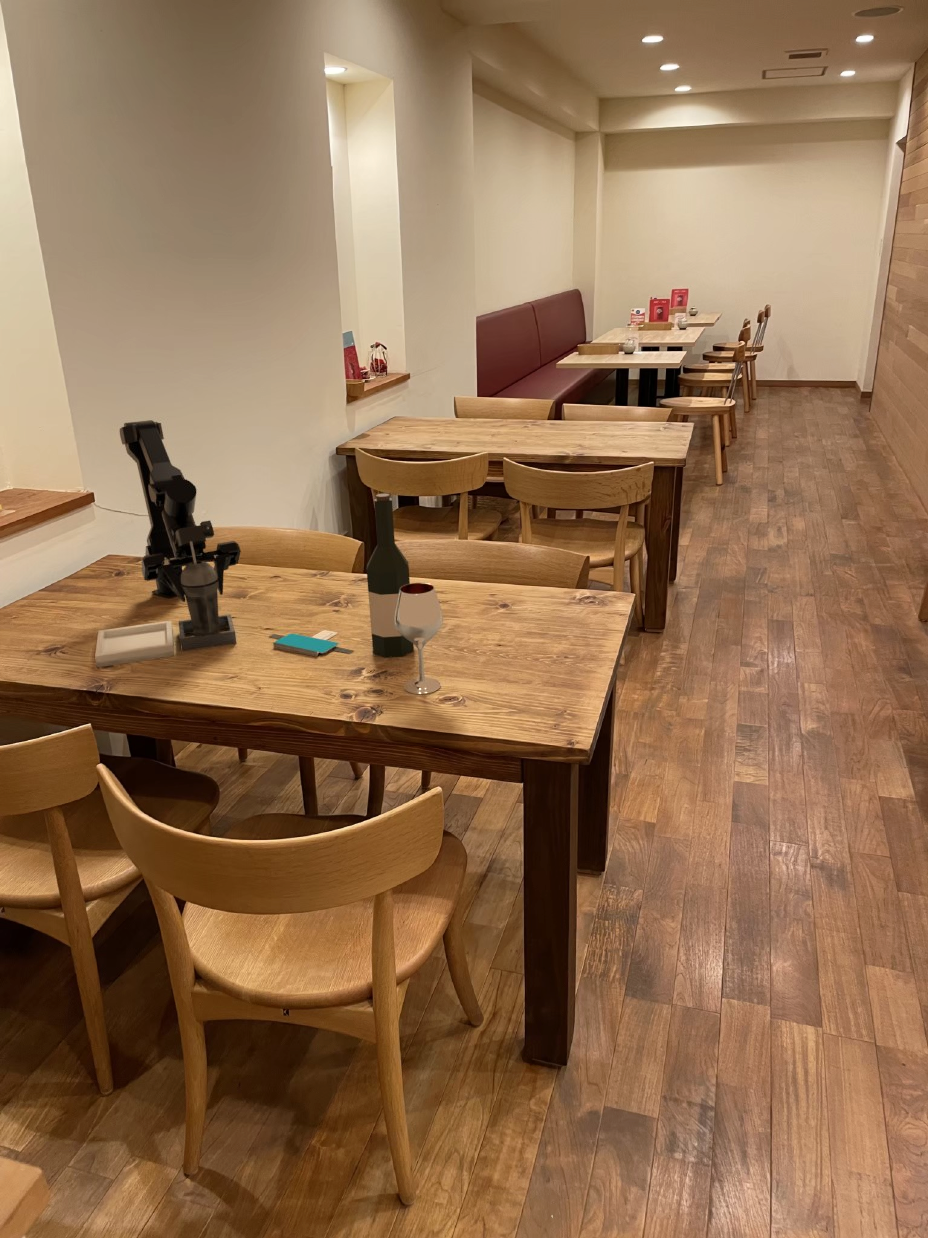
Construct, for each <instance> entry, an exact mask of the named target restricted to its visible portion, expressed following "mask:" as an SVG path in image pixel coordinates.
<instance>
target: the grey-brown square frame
mask: <svg viewBox="0 0 928 1238" xmlns="http://www.w3.org/2000/svg"><path fill="white" fill-rule="evenodd" d="M218 617H219V629H224V628H225V629H226V628H228V630H227V631H225V630H224V631H219V632H217V633H210V634H203V635H190V636H186V634H190V633H195V631H194V629H193V625H192V621H191V619H186V620H179V621H178V632H179V641H180V647H181V648H180V649H181V652H185V651H192V650H193V651H194V650H199V649H208V648H212V647H213V648H214V647H219V646H227V645H233V644H237V636H236V630H235V626H234V621H233V617H232V614H231V613H229V614H222V615H221V614H219V615H218Z"/></svg>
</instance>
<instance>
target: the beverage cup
mask: <svg viewBox="0 0 928 1238" xmlns="http://www.w3.org/2000/svg"><path fill="white" fill-rule="evenodd" d="M190 546H191V551H192V556H193V562H191V563H189V564H188V565H186V566H184V568H182V570H183V571H182V573H181V582H180V584H181V586H182V589H183V592H184V596H185V602H186V604H187V608H188V612H189V616H190V620H191V621H192V625H193V629H194V631H195V632H194V634H195V635H194V636H196V635H203V634H210V633H217V632H220V628H219V617H218V616H219V601H218V599H219V598H218V577H217V574H216V572H215V570H214V567H213V566H212V565H211V564H209V563H208V562H204V561H196V557H195V553H194V548H193V543H192V541H190Z"/></svg>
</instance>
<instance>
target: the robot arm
mask: <svg viewBox="0 0 928 1238" xmlns="http://www.w3.org/2000/svg"><path fill="white" fill-rule="evenodd" d="M119 436H120V437H119V438H120V441H121V444H122V445H124V446H125V451H126V453H127V455H128V456H129V457H130V458H131V459H132V460H133V461H134V462H135V463H136V465H137V469H138V470H137V471H138V475H139V479H140V484H141V487H142V493H143V497H144V500H145V506H146V509H147V514H148V518H149V519H148V520H149V524H150V530H149V532H148V535H147V537H146V543H147V545H146V546H145V553H144V556H143V557H142V559H141V573H142V576H143V580H144V581H149V582H150V581H155V583H156V589H154V590H152V591H151V593H152V594H153V595H157V596H160V597H163V598H167V599H168V598H172V597H176V596H177V597H178V598H179V599H180V600H181V602H183V603H186V597H185V594H184V592H183V589H182V586H181V584H180V582H181V573H182V571H183V567H186V565H188V564H189V563H191V562H193V556H192V551H191V546H190V541H192V543H193V548H194V553H195V557H196V561H204V562H206V563H208V562H213V564H214V565H213V566H214V567H213V568H214V570H215V572H216V574H217V577H218V590H217V592H218V593H219V594H220V596H223V593H224V573H225V572H224V571H227V570H228V569H229V567H231V566H235V565H237V564H238V563H239V561H240V557H241V553H242V551H241V548H240V545H239V543H238V542H237V541H235V540H231V541H225V542H219V543H217V544H216V545H217V546H216V550H211V551H206V552H205V549H206V547H207V545H206V542H207V539H210V538H213V537H214V536H215V532H214V528H213V523H212V522H211V520H204V521H201V522H200V524H199V525H197V524H196V521H195V519H194V515H193V514H194V512H195V507H196V499H197V488H196V485H194V484H193V482H192V481H190V480H188V479H186V478H185V477H184V475H183V472H182V470H181V469H179V468H178V467H176V466H174V465H173V464H172V463H171V460H170V457H169V454H168V452H167V449H166V446H165V445H164V442H163V440H165V437H164V432H163V427H162V423H161V422H157V421H154V420H150V419H149V420H141V421H131V422H130V421H129V422H124V423H123V426H121V427H120V428H119Z"/></svg>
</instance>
